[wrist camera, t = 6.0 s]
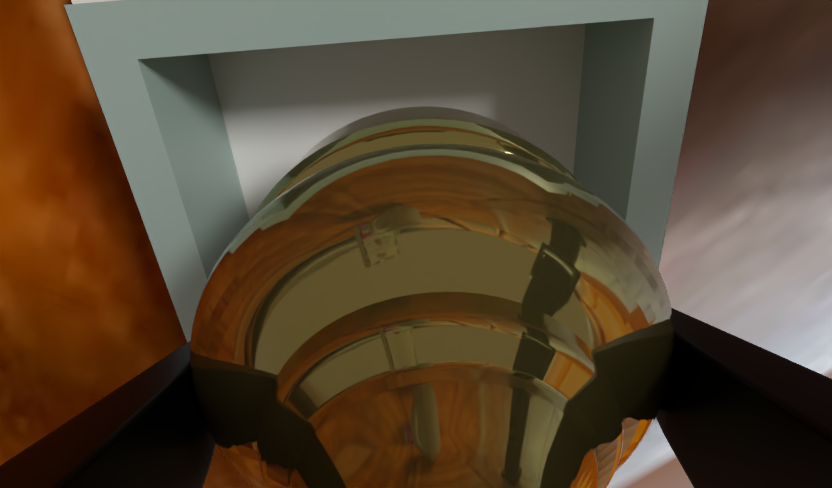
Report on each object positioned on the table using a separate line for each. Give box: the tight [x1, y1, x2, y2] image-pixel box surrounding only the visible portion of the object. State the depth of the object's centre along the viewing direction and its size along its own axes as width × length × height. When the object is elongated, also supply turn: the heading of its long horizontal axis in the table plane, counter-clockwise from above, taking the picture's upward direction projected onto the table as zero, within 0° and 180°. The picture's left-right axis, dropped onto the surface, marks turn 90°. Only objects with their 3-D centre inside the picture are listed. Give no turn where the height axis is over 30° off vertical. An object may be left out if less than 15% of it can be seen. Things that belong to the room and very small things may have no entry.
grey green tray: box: [64, 0, 708, 343], centre depth 13 cm, size 16×14×4 cm
